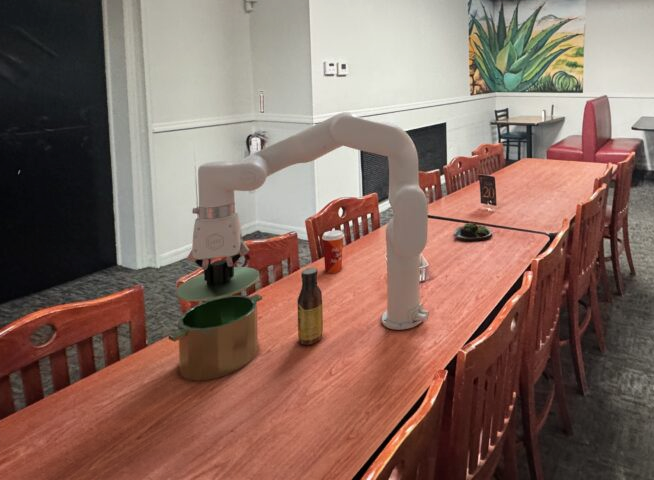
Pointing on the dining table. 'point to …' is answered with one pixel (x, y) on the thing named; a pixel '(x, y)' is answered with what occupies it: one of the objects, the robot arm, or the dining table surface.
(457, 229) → the salad plate
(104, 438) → the dining table surface
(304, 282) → the sauce bottle
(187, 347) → the cooking pot
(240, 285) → the tin lid
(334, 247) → the paper cup
